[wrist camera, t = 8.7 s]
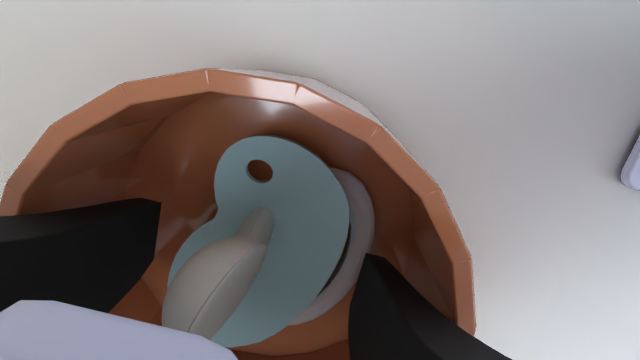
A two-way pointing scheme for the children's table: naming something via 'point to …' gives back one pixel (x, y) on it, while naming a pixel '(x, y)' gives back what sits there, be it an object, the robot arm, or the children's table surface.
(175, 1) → the children's table surface
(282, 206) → the pacifier
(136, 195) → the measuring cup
